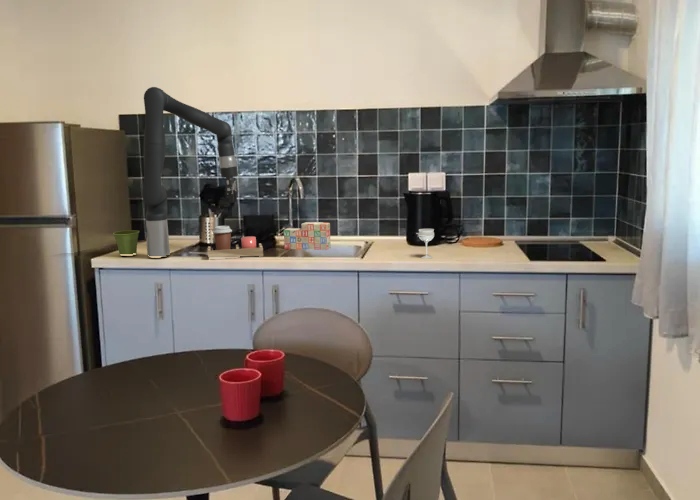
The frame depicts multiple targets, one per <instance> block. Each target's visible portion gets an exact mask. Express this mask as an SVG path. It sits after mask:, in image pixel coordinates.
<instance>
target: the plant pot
mask: <svg viewBox="0 0 700 500" xmlns="http://www.w3.org/2000/svg"><path fill="white" fill-rule="evenodd" d="M139 233H140V230H119V231H114V232H113V233H112V235H114V236H113V237H114V239H115V241H116V244H117V249H118V254H119V255H120V254H133V253H136V254H138V253H137V252H138V240H139V239H138V238H139Z"/></svg>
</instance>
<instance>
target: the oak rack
mask: <svg viewBox="0 0 700 500" xmlns="http://www.w3.org/2000/svg"><path fill="white" fill-rule="evenodd" d="M211 247H212V246H209V245H208V246H207V257H240V256H259V257H258V258H264V248H263V244H262V243H258V247H256V248H244V249H242V248H240V247H239V244H235V248H232V249H231V248H230V249H227V250H216V249H215V250H213V249H212V250H211Z"/></svg>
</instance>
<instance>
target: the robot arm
mask: <svg viewBox="0 0 700 500" xmlns="http://www.w3.org/2000/svg"><path fill="white" fill-rule="evenodd" d="M143 103H144V115H145V124H144V134H143V171H144V172H143V183H142V192H141V196H142V199H143V202H144V203H145V204H146V213H145V223H146V224H145V226H146V234H147V235H146V237H145V240H146V251H147V256H148V255H149V256H166V255H170V256H171V253H170V251H171V250H170V237H169V227H168V213H169V212H168V211H169V209H168V194H167V190H166V188H165V187H164V186H163V185H162V170H163V167H164V163H165V157H166V147H167V146H166V133H165V127H164V112H167V113H170V114H172V115H175V116H177V117H179V118H180V119H183V120H185V121H186V122H187V123H189V124H191V125H194V126H195V127H196V126H197V128H200V129H203V130H206V131H208V132H210V133H212V134H214V135H215V136H216V141H217V152H218V163H219V172H220V176H221V178H224V179H225V180H224V185H225V192H226V195H227V197H228V203H229V204H233V203H235V201H237V200H238V197H237V191H238V188H237V183H236V182H237V181H236V178H235V177H238V175H239V173H238V168H237V167H238V166H237V158H236V157H235V156H236V155H235V148H234V145H233V136H232V126H231V125H230V124H229V123H228V122H227V121H225V120H221V119H219V118H217V117H214V116H212V115H211V114H209V113H208V112H205V111H203V110H201V109H199V108H197V107H194V106H191V105H189V104H186V103H183V102H181V101H179V100H177V99H176V98H174V97H172V96H171V95H169V94H168V93H166V92H165V91H164V90H163V89H162V88H159V87H157V86H151V87H148V88H147V89H146V91H144V94H143Z"/></svg>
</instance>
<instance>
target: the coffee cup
mask: <svg viewBox="0 0 700 500" xmlns="http://www.w3.org/2000/svg"><path fill="white" fill-rule="evenodd" d="M211 232H212V234H213V236H214V242H215V247H216V248H215V250H227V249H231V239H232V238H231V237H232V234H231V233H232V232H233V229H231V227H230V225H218V226H217V225H216V226H214V228H213V230H212V231H211Z"/></svg>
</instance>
